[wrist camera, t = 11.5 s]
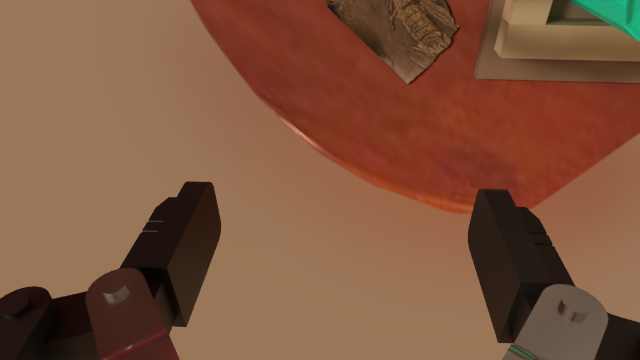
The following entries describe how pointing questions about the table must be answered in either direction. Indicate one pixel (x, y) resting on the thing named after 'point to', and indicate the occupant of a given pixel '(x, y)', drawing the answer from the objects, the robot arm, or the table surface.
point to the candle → (616, 13)
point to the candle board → (547, 65)
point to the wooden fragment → (400, 30)
